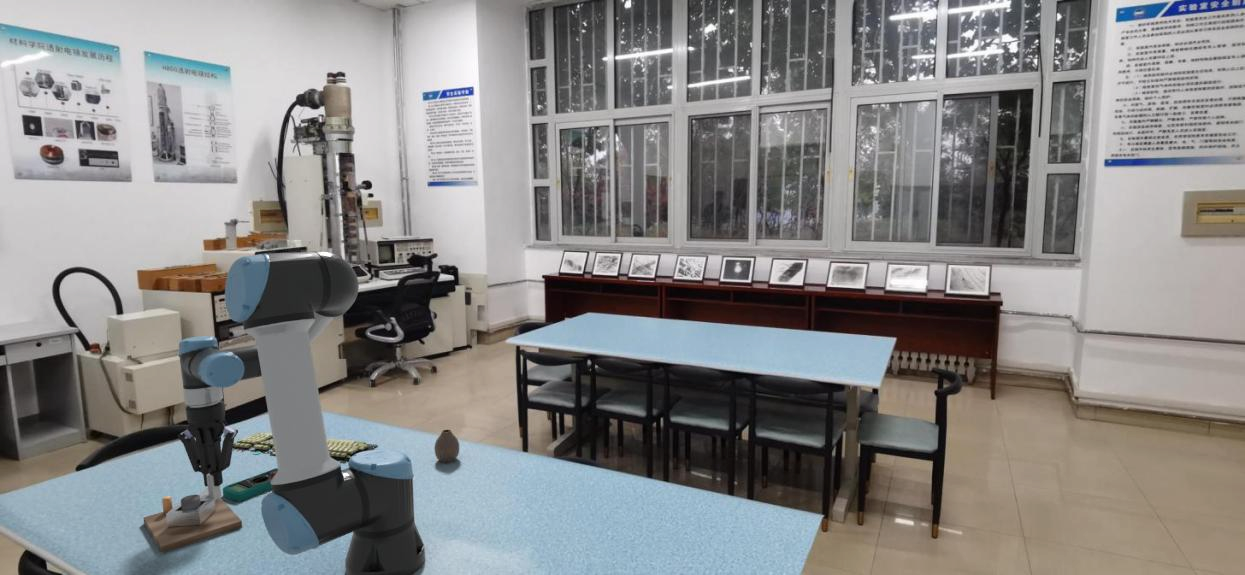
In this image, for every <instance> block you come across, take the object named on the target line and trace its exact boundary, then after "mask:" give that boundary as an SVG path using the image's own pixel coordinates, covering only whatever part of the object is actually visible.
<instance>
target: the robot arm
mask: <svg viewBox="0 0 1245 575" xmlns="http://www.w3.org/2000/svg"><path fill="white" fill-rule="evenodd" d="M359 284H360V283H359V278H358V276H357V274H356V271H355V270H354V268H353V267H352V266H351V265H350V264H349V263H348V262H347V260H345V259H344V258H342V257H341V256H339V255H337V254H334V253H332V252H327V251H323V250H322V251H319V250H318V251H316V250H315V251H309V252H308V251H307V252H306V251H301V252H299V251H298V252H278V253H277V252H274V253H266V252H264V253H259V254H251V255H244V256H241V257H239V258H238V259H236V260H235V261H234V262H233V263H232V264H231V266H230V268H229V270H228V273H227V277H226V280H225V288H224V289H225V290H224V302H225V308H226V309H225V310H226V311H227V312H228V316H229V318H230V319H231V320H232V321H233V322H236V323H242V327H243V331H244V333H245V334H247V335H249V336H250V337H252V338H253V339H254V340H255V344H252V345H247V346H240V347H234V348H233V347H232V348H228V349H220V346H219V344H218V339H217V337H215V336H212V335H211V336H210V335H204V336H203V335H201V336H193V337H187V338H184V339H182V340H181V341H179V342H178V356H177V357H179V364H180V373H181V378H182V386H183V387H182V389H183V398H184V399H183V400H184V404H185V405H186V407H185V415H186V421H187V422H188V424H187V426H186V427H187V429H186V430H184V431H183V432H180V433H178V435H177V438H178V439H179V441H180V442H181V443H182V445H183V447H184V450H185V452H186V454H187V457H188V459H189V462H190V465H191V467H192V469H193V471H194V472H195V473H201V474H202V476H203V477H202V478H203V483H204V487H206V488H208V493H209V498H215V500H216V499H218V498H219V497H220V498H222V497H221V496H222V490H221V485H222V484H223V483H224V481H223V472H224V471H225V470H226V469H228V468H229V467H231V463H232V462H231V461H232V456H233V448H234V447H233V444H234V443H235V438H236V436H237V435H238V434H239V429H237V428H233V429H232V428H230V427H229V426H228V423H227V422H226V419H225V417H226V416H225V415H226V409H225V408H226V407H225V401H224V400H223V399H224V392H223V388H224V389H225V388H229V387H232V386H234V385H237V383H238V382H241V381H246V380H252V379H256V378H259V377H260V378H262V384H263V390H264V395H265V397H264V398H265V402H266V406H267V412H268V418H269V419H268V420H269V424H270V430H271V433H272V439H273V440H272V441H273V443H274V448H275V454H276V456H275V460H276V466H277V468H278V471H277V473H276V474H275V476H274V477H273V478H272V480H271V481H270V482H271V488H272V489H271V492H269V493H267V494H266V495H265V496H264V497H263V498H262V500H261V507H260V508H261V510H260V511H261V515H262V519H263V523H264V526H265V529H266V531H267V532H268V534H269V536H270V538H271V540H272V542H273V543H274V544H275V545H276V547H278V549H279V550H280V551H282V552H283V553H285V554H287V555H291V556H294V555H299V554H302V553H304V552H308V551H309V550H316V549H318V548H319V547H320V546H323V545H325V544H328V543H329V542H332V541H334V540H336V539H339V538H341V537H343V536H345V535H349V534H351V533H352V535H351V540H350V544H349V546H348V550H347V553H346V557H345V564H344V566H345V567H344V568H345V575H413V574H414V573H415V572H416V571H418V570H419V569H420V568H422V566H423V564H424V562H425V559H426V550H425V544H424V542H423V539H422V537H421V534H420V531H419V529H418V528H417V525H416V522H415V502H414V472H413V465H412V460H411V458H410V456H408V455H407V454H406V453H403V452H401V451H398V450H392V449H373V450H369V451H363V452H359V453H357V454H354V455H353V456H352V457H351V458H350V459H349V462H347V464H348V468H344V469H342V467H341V466H342V465H341V463H340V461H339V460H338V461H337V459H336V460H334V459H332V458H331V457H330V455H329V449H328V443H327V439H328V438H327V433H326V427H325V420H324V415H323V410H322V406H321V405H322V404H321V398H320V393H319V388H318V382H317V376H316V370H315V364H314V359H313V353H312V348H311V344H312V343H313V342H314V341H315V340H316V338H317V337H318V336H319V335H320V334H321V333H322V332H323V331H324V330H325V329H326V327H327V326H328V325H329V324H330V323H331V322H332V321H333V319H335V318H338V317H341V316H343V315H345V313H346V312H348V311H349V310H350V308H351V307H352V306H353V304H354V303H355V302H356V299H357V296H358V295H359V290H360V289H359V288H360V287H359ZM222 436H223V441H222ZM221 442H222V444H221Z"/></svg>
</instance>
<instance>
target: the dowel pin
mask: <svg viewBox="0 0 1245 575" xmlns="http://www.w3.org/2000/svg"><path fill="white" fill-rule="evenodd" d="M172 497H173V496H171V495H168V496H163V497H162V498H161V501H162V502H161V503H162V512H163V513H164V514H167V513H168V512H169V511H170V510H172V509H173V508H174V507H173V506H174V505H173V499H172Z"/></svg>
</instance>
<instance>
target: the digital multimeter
mask: <svg viewBox="0 0 1245 575" xmlns="http://www.w3.org/2000/svg"><path fill="white" fill-rule="evenodd" d="M277 471H278V467H277V468H275V467H274V468H273V469H270V470H267V471H264V472H262V473H259V474H257V475H254V476H250V477H247V478H245V479H244V480H243V479H242V480H239V481H238V482H236V481H235V482H234V483H231V484H228V485H226V486H224V487H223V488H222V496H224V497H225V498H227V499H230V500H231V501H234V502H240V503H241V502H243V501H245V500H248V499H250V498H252V497H254V496H257V495H259V494H262V493H265V492H267V491H270V490H272V488H271V482H270V481H271V480H272V478H273V477H274V476H275V474H276V473H277Z"/></svg>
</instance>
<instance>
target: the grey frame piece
mask: <svg viewBox="0 0 1245 575" xmlns="http://www.w3.org/2000/svg"><path fill="white" fill-rule="evenodd" d="M198 495H199V496H200V503H201V506H200V507H199V508H198V509H197V510H185V511H182V509H181V501H179V503H178V504H177V505H175V506H174V507H173V509H172V510H170V511H169V512H168V513H167V514H166V518H167V527H172V526H188V525H201V524H202V523H203V522H204V521H205V520H206V519H207V518H208V517H209V516H210V515H211V514H212V513H213V512H215V511H216V506H215V502H216V501H217V500H218V499H219V498H218V499H216V500H215V498H209V493H208V487H206V488H205V489H204V490H202V492H200V493H199V494H198Z"/></svg>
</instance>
